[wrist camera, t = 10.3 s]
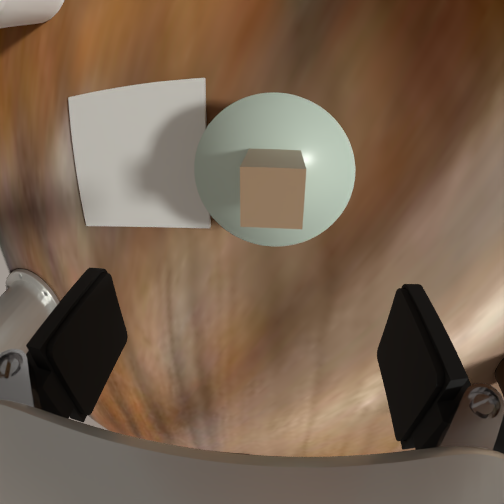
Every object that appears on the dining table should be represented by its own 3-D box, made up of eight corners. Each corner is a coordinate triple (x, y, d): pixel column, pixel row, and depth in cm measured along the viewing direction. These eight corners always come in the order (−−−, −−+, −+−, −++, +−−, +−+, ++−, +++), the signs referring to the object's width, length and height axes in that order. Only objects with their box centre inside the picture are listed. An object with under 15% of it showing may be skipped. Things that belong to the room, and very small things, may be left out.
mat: (210, 226, 36) (209, 228, 35) (88, 223, 37) (86, 225, 36) (205, 78, 28) (203, 77, 27) (71, 97, 29) (68, 97, 29)
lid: (343, 244, 29) (358, 289, 23) (201, 238, 30) (180, 280, 24) (358, 98, 22) (384, 103, 16) (194, 93, 23) (165, 97, 17)
